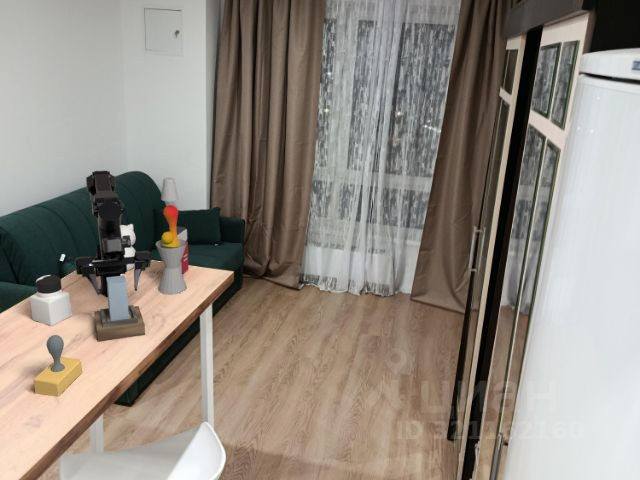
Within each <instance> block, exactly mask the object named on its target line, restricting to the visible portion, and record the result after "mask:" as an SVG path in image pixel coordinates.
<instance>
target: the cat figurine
mask: <svg viewBox="0 0 640 480" xmlns="http://www.w3.org/2000/svg"><path fill="white" fill-rule="evenodd" d="M120 228H121V235H122V237H123V236H127V235H130V239H131V247H130V248H125V255H124V257H134V254H135V252H137V251H136V249H135V248H134V247H133V245H134V244H135V243H136V240H137V239H136V234H135V231H134V224H133V223H130V224H127V225H126V224H125V225H124V224H121V225H120ZM134 268H135V265H134V264H127V272H128V271H130V270H131V269H134Z"/></svg>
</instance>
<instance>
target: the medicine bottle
mask: <svg viewBox="0 0 640 480" xmlns="http://www.w3.org/2000/svg"><path fill="white" fill-rule="evenodd" d="M35 285H36V293H35V294H33V295H31V296H30V297H29V301H30V307H31V308H30V309H31V316H32V317H31V318H32V321H34V320H35V321H34V322H37V321H38V323H40V322H41V324H43V323H44V325H46V324H47V326H49V325H50V326H51V327H54V326H55V325H57V324H59V323H61V322H63V321H64V320H67V319H69V318H70V317H72V315H73V314H72V306H71V305H72V304H71V294H70V292H68V291H64V290H62V279H61V277H60V276H59V275H55V274H48V275H43V276H41V277H39V278H37V279H36V281H35Z"/></svg>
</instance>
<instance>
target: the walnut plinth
mask: <svg viewBox="0 0 640 480" xmlns="http://www.w3.org/2000/svg"><path fill="white" fill-rule="evenodd" d="M93 313H94V315H93V316H94V323H95V324H94V325H95V328H96V329H95V330H96V334H97V342H98V343H99V342H105V341H113V340H118V339H119V340H120V339H126V338H133V337H139V336H146V324H145V321H144V318H143V315H142V313H141V309H140V306H139V305H133V304H130V305H128V313H129V319H122V320H115V321H110V316H109V307H107V308H106V307H105V308H100V310H94V312H93Z"/></svg>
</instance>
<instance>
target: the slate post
mask: <svg viewBox="0 0 640 480" xmlns="http://www.w3.org/2000/svg"><path fill="white" fill-rule="evenodd" d="M106 279H107V292H108V297H107V302H108V304H107V305H108V308H109V316H110V321H115V320H122V319H129V313H128V306H129V299H128V285H127V284H128V283H127V280H126V276H125V275H121V276H115V277H106Z"/></svg>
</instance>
